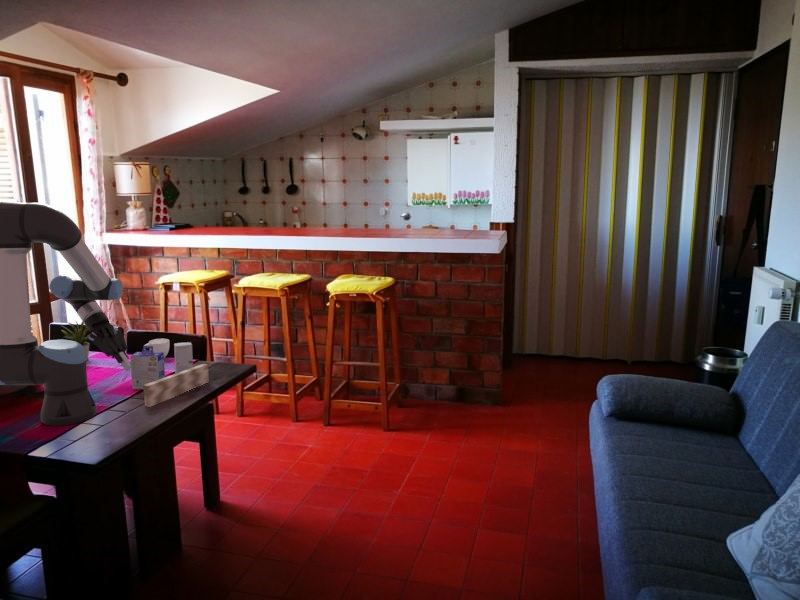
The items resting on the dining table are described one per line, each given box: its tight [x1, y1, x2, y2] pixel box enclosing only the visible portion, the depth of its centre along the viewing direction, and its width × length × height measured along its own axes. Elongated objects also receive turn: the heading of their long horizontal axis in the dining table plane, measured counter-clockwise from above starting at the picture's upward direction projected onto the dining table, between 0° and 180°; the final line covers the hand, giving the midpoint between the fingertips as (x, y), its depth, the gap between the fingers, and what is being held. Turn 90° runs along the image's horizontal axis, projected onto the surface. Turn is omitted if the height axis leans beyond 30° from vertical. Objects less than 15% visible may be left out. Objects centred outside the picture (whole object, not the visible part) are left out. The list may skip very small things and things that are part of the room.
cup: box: [143, 338, 170, 359], centre depth 247 cm, size 8×10×7 cm
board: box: [142, 363, 210, 408], centre depth 206 cm, size 26×2×7 cm, turn 152°
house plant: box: [60, 320, 91, 360], centre depth 243 cm, size 14×14×16 cm
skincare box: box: [173, 341, 194, 374], centre depth 224 cm, size 6×4×12 cm
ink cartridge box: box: [129, 345, 166, 390], centre depth 211 cm, size 10×6×14 cm, turn 89°
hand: (129, 368), depth 216 cm, fingers closed
